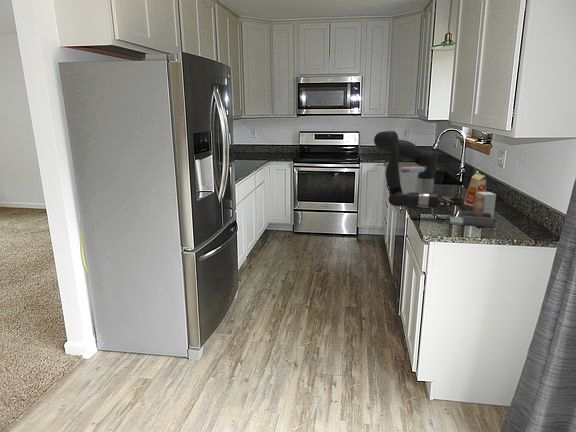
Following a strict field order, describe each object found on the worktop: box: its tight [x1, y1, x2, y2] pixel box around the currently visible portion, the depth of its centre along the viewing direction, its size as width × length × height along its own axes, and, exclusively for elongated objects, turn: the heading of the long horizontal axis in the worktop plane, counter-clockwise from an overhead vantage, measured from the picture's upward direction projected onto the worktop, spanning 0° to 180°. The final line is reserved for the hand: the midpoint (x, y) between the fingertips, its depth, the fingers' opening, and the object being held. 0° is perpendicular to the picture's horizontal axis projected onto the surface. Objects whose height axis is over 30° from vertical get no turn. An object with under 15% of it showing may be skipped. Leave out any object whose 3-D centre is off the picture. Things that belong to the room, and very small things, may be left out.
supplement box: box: [477, 191, 497, 216], centre depth 226 cm, size 7×7×13 cm
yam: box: [472, 194, 485, 217], centre depth 209 cm, size 5×5×14 cm
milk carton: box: [463, 171, 487, 207], centre depth 250 cm, size 9×9×20 cm
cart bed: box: [449, 210, 496, 228], centre depth 212 cm, size 12×20×4 cm, turn 71°
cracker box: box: [399, 166, 426, 194], centre depth 266 cm, size 14×6×21 cm, turn 84°
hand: (461, 202), depth 212 cm, fingers open, 8 cm apart
